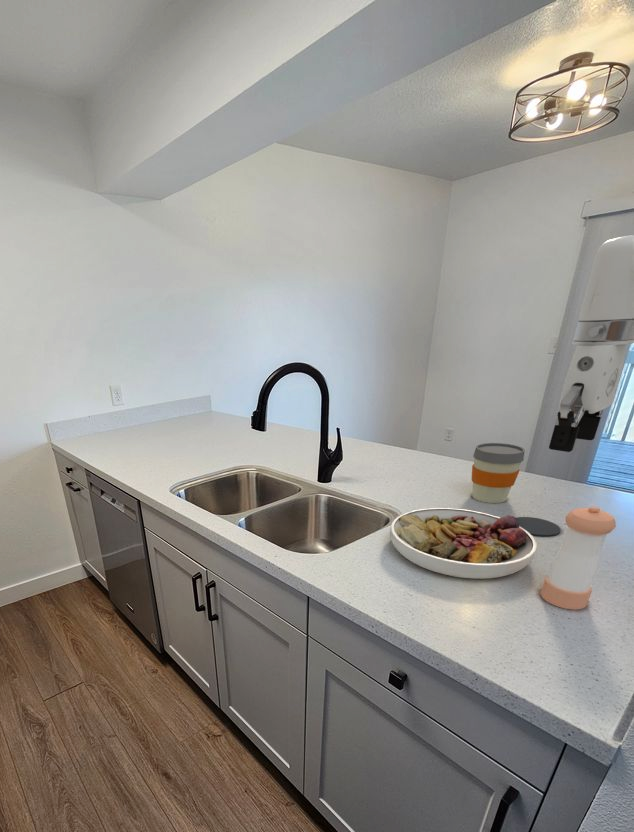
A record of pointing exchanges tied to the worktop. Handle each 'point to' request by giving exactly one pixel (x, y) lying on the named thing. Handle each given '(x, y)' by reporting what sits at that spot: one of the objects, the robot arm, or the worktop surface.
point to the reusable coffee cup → (495, 471)
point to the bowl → (463, 542)
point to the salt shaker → (577, 558)
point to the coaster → (538, 526)
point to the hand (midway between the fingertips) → (571, 444)
